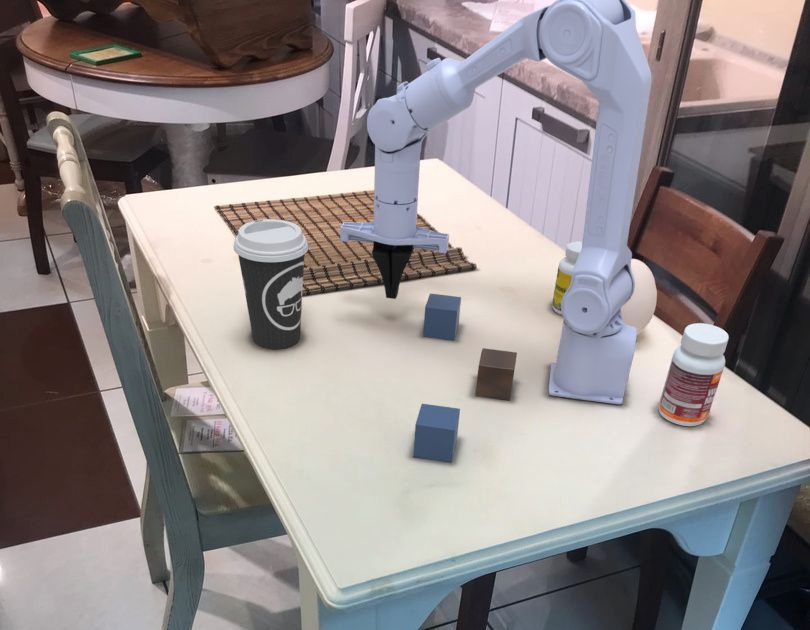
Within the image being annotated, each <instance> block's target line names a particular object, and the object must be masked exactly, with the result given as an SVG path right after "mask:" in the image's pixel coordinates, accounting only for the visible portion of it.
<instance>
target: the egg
mask: <svg viewBox="0 0 810 630" xmlns="http://www.w3.org/2000/svg"><path fill="white" fill-rule="evenodd" d="M631 270H632V273H633V276H634V280H635V288H634V292H633V295H632V297H631V298H630V299H629V301H628V302H627V303H625V305H623V306H622V307H621V313H622V321H623V323H624V324H626V325H630V326H634V327H636V328H637V335H638V334H640V333H641V332H642V331H643V330H644V329H645V328H646V327H647V326H648V325H649V324H650V323H651V320H652V319H653V316H654V314H655V311H656V307H657V299H658V290H657V286H656V279H655V276H654V274H653V272H652V270H651V269H650V268H649V266H648V265H646V263H645V262H643V261H641V260H640V259H636V258H631Z"/></svg>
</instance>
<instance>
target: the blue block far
mask: <svg viewBox="0 0 810 630" xmlns="http://www.w3.org/2000/svg"><path fill="white" fill-rule="evenodd" d="M461 303H462V297H461V296H454V295H447V294H438V293H429V295H428V298H427V301H426V304H425V306H424V316H423V317H424V318H423V319H424V320H423V334H422V337H423V338H432V339H433V338H434V339H439V340H441V339H442V340H449V341H455V340H456V336H457V332H458V329H459V325H460V315H461V305H462V304H461Z"/></svg>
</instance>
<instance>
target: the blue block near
mask: <svg viewBox="0 0 810 630" xmlns="http://www.w3.org/2000/svg"><path fill="white" fill-rule="evenodd" d="M460 414H461V408H459V407H458V408H457V407H452V406H451V407H450V406H444V405H443V406H442V405H436V404H427V403H421V405H420V408H419V411H418V415H417V417H416V421H415V425H414V441H413V454H412V455H413V456H412V457H413V458H419V459H425V460H432V461H440V462H446V463H452V462H453V459H454V454H455V451H456V445H457V441H458V432H459V423H460Z"/></svg>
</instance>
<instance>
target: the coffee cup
mask: <svg viewBox="0 0 810 630" xmlns="http://www.w3.org/2000/svg"><path fill="white" fill-rule="evenodd" d="M308 250H309V243H308V241H307V238H306V236H305V235H304V233H303V231H302V229H301V227H300V226H299V225H297V224H296V223H294V222H290V221H288V220H283V219H275V218H274V219H273V218H265V219H256V220H252V221H248V222H247V223H244V224H243V225H241V226H240V227H239V229H238V232H237V235H236V236H235V238H234V241H233V251H234V253H235V254H237V257H238V262H239V266H240V267H239V268H240V272H241V278H242V284H243V289H244V295H245V300H246V301H245V302H246V306H247V307H246V308H247V312H248V318H249V319H248V320H249V324H250V331H251V335H252V340H253V342H254V344H256V345H257V346H259V347H261V348H263V349H267V350H268V349H269V350H283V349H289V348H291V347H293V346H295V345H297V344H298V343H299V341H300V340H301V327H302V309H303V307H302V306H303V290H304V289H303V288H304V272H305V271H304V270H305V256H306V255H305V254H306V253H307V252H308Z"/></svg>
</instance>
